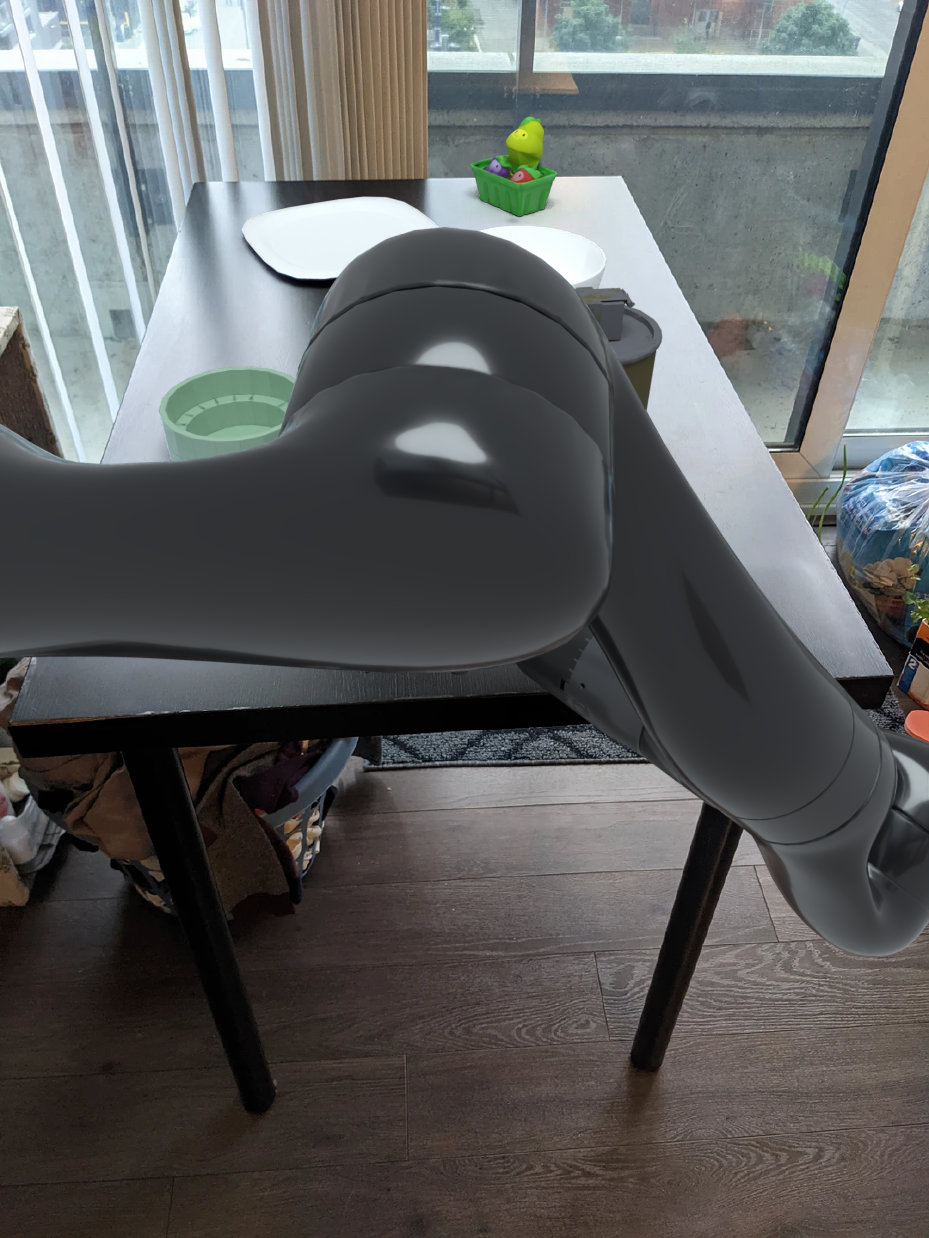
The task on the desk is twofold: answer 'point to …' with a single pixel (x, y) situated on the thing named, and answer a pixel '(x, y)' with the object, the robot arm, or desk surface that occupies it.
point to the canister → (626, 334)
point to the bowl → (559, 252)
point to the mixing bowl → (224, 411)
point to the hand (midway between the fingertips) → (427, 530)
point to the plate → (328, 234)
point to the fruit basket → (517, 172)
